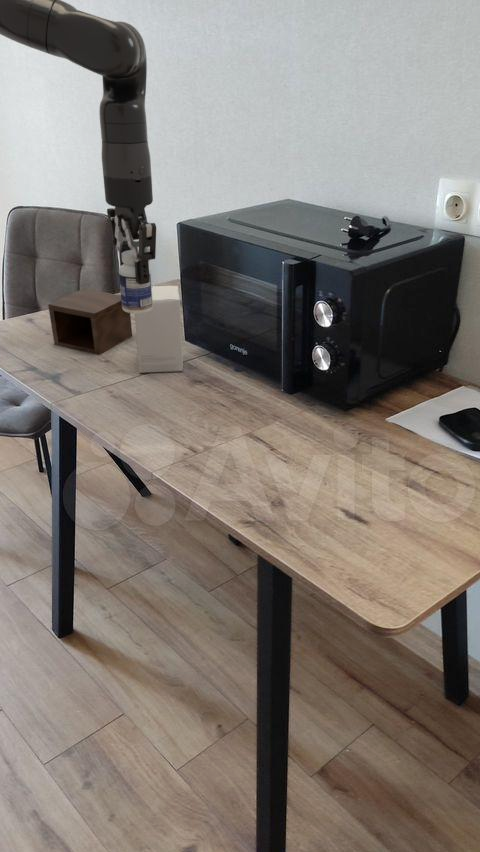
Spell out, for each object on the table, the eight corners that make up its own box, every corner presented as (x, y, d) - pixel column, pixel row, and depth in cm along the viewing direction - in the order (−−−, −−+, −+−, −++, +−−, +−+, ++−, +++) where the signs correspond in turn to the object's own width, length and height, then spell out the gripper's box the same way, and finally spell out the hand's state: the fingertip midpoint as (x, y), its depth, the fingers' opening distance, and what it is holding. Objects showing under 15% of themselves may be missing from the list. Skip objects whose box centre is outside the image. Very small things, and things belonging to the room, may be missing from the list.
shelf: (99, 354, 148) (94, 313, 143) (54, 344, 152) (47, 304, 147) (132, 336, 157) (128, 296, 152) (88, 326, 161) (83, 288, 156)
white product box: (184, 372, 141) (180, 299, 133) (138, 373, 140) (132, 300, 132) (182, 354, 149) (178, 284, 141) (139, 356, 148) (133, 285, 140)
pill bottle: (123, 304, 125) (118, 248, 120) (153, 304, 126) (150, 248, 120) (120, 314, 121) (115, 257, 115) (152, 314, 121) (148, 257, 116)
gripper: (87, 166, 114) (97, 270, 123) (124, 181, 104) (133, 293, 113) (129, 163, 118) (137, 264, 127) (169, 177, 108) (174, 286, 117)
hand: (135, 278), depth 120 cm, fingers closed on pill bottle, 5 cm apart
